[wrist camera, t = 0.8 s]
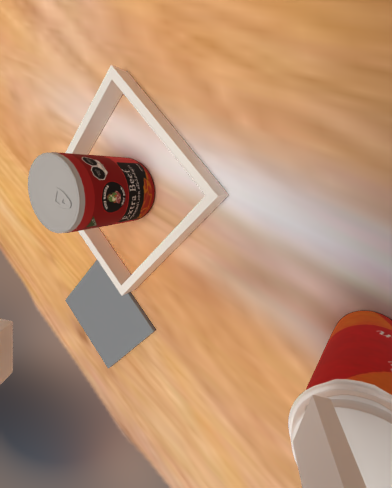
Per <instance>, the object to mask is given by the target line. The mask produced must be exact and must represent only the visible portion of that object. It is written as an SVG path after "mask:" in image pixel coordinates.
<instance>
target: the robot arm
mask: <svg viewBox="0 0 392 488" xmlns="http://www.w3.org/2000/svg"><path fill="white" fill-rule="evenodd" d="M12 372H13V322H12V321H8V320H4V319H0V384H1V383H2V382H3V381H4V380H5V379H6V378H7V377H8V376H9V375H10V374H11V373H12ZM293 446H294V451H295V456H296V460H297V465H298V470H299V474H300V479H301V484H302V488H367V487H366V485H365V482H364V480H363V477H362V475H361V472H360V470H359V468H358V465H357V463H356V460H355V458H354V455H353V453H352V450H351V448H350V445H349V443H348V440H347V438H346V436H345V433H344V431H343V428H342V426H341V423H340V421H339V418H338V416H337V413H336V411H335V408H334V406H333V403H332V401H331V399H329V398H325V397H321V396H317V395H312V397H311V399H310V401H309V404H308V406H307V409H306V411H305V413H304V416H303V418H302V421H301V423H300V426H299V428H298V430H297V433H296V435H295V438H294V440H293Z"/></svg>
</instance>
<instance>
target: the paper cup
mask: <svg viewBox="0 0 392 488" xmlns="http://www.w3.org/2000/svg"><path fill="white" fill-rule="evenodd" d="M312 395H317V396H321V397H325V398H329V399H331V401H332V403H333V406H334V408H335V411H336V413H337V416H338V418H339V421H340V423H341V426H342V428H343V431H344V433H345V436H346V438H347V440H348V443H349V445H350V448H351V450H352V453H353V455H354V458H355V460H356V463H357V465H358V468H359V470H360V472H361V475H362V477H363V480H364V482H365V485H366V487H367V488H392V320H391V319H389V318H388V317H386V316H384V315H382V314H379V313H376V312H372V311H356V312H352V313H350V314H347V315H346V316H344V317H343V318H342V319H341V320H340V321H339V322H338V324H337V325H336V327H335V329H334V330H333V332H332V334H331V337H330V339H329V341H328V343H327V345H326V347H325V349H324V351H323V354H322V356H321V358H320V360H319V362H318V364H317V367H316V369H315V371H314V373H313V375H312V378H311V380H310V382H309V384H308V386H307V388H306V390H305V391H304V392H303V393H302V394H300V395H299V396H298V398H297V399H296V400H295V401H294V403H293V405H292V407H291V410H290V414H289V420H288V428H289V435H290V438H291V445H292V452H293V455H294V458H295V461H296V464H297V460H296V456H295V451H294V446H293V440H294V438H295V435H296V433H297V430H298V428H299V426H300V423H301V421H302V418H303V416H304V413H305V411H306V409H307V406H308V404H309V401H310V399H311V397H312ZM297 466H298V465H297Z"/></svg>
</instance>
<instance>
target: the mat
mask: <svg viewBox="0 0 392 488" xmlns="http://www.w3.org/2000/svg"><path fill="white" fill-rule="evenodd" d="M65 301H66V302H67V304H68V305H69V307H70V308H71V310H72V312H73V313H74V315H75V316H76V318H77V320H78V321H79V323H80V324H81V326H82V328H83V329H84V331H85V332H86V334H87V336H88V337H89V339H90V340H91V342H92V344H93V345H94V347H95V348H96V350H97V351H98V353H99V355H100V356H101V358H102V359H103V361H104V363H105V364H106V366H107V367H108V368H110V367H111V366H112V365H114V364H115V363H116V362H117V361H118V360H120V359H121V358H122V357H123V356H125V355H126V354H127V353H128V352H130V351H131V350H132V349H133V348H134V347H136V346H137V345H138V344H139V343H141V342H142V341H143V340H144V339H145V338H147V337H148V336H149V335H150V334H152V333H153V332H154V331H155V330H156V329H155V327H154V326H153V325H152V323H151V322H150V320H149V319H148V317H147V316H146V314H145V313H144V311H143V310H142V308H141V307H140V305H139V304H138V303H137V301H136V300H135V298H134V297H133V295H132V294H131V292H129V293H127V294H125V295H123V296H121V294H120V293H119V291H118V290H117V288H116V287H115V285H114V284H113V282H112V281H111V279H110V278H109V276H108V275H107V273H106V272H105V270H104V269H103V267H102V266H101V264H100V263H99V261H98V260H97V261H96V262H95V263H94V264H93V266H92V267H91V268H90V269H89V271H88V272H87V273H86V275H85V276H84V277H83V278H82V280H81V281H80V282H79V283H78V285H77V286H76V287H75V289H74V290H73V291H72V292H71V294H70V295H69V296H68V297H67V299H66V300H65Z"/></svg>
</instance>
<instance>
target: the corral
mask: <svg viewBox="0 0 392 488" xmlns="http://www.w3.org/2000/svg"><path fill="white" fill-rule="evenodd" d="M122 94H124V95H125V96H126V97H127V99H128V100H129V101H130V102H131V104H132V105H133V106H134V107H135V109H136V110H137V111H138V112H139V114H140V115H141V116H142V117H143V119H144V120H145V121H146V122H147V124H148V125H149V126H150V127H151V129H152V130H153V131H154V132H155V134H156V135H157V136H158V137H159V139H160V140H161V141H162V142H163V144H164V145H165V146H166V147H167V149H168V150H169V151H170V152H171V153H172V155H173V156H174V157H175V158H176V160H177V161H178V162H179V163H180V165H181V166H182V167H183V168H184V170H185V171H186V172H187V173H188V175H189V176H190V177H191V178H192V180H193V181H194V182H195V183H196V185H197V186H198V187H199V188H200V190H201V191H202V192H203V193H204V195H205V196H204V197H203V199H202V200H201V201H200V202H199V203H198V204H197V205H196V206H195V207H194V208H193V209H192V210H191V211H190V212H189V214H188V215H187V216H186V217H185V218H184V219H183V220H182V221H181V222H180V223H179V224H178V225H177V226H176V227H175V229H174V230H173V231H172V232H171V233H170V234H169V235H168V236H167V237H166V238H165V239H164V240H163V241H162V242H161V244H160V245H159V246H158V247H157V248H156V249H155V250H154V251H153V252H152V253H151V254H150V255H149V256H148V258H147V259H146V260H145V261H144V262H143V263H142V264H141V265H140V266H139V267H138V268H137V269H136V270H135V271H134V273H133V274H132V275H131V274H130V272H129V271H128V270H127V268H126V267H125V265H124V264H123V262H122V261H121V259H120V258H119V257H118V255H117V254H116V252H115V251H114V249H113V248H112V246H111V245H110V244H109V242H108V241H107V239H106V238H105V236H104V235H103V233H102V232H101V231H100V229H99V228H98V227H97V228H91V229H86V230H81V231H78V232H79V233H80V235H81V236H82V238H83V239H84V241H85V242H86V244H87V245H88V247H89V248H90V250H91V251H92V253H93V254H94V255H95V257H96V258H97V260H98V261H99V263H100V264H101V266H102V267H103V269H104V270H105V272H106V273H107V275H108V276H109V278H110V279H111V281H112V282H113V284H114V285H115V287H116V288H117V290H118V291H119V293H120V294H121V296H123V295H125V294H127V293H129V292H131V291H133V290H135V289H136V288H137V287H138V286H139V285H140V284H141V283H142V282H143V281H144V280H145V279H146V278H147V277H148V276H149V275H150V274H151V273H152V272H153V271H154V270H155V269H156V268H157V267H158V266H159V265H160V264H161V263H162V262H163V261H164V260H165V259H166V258H167V257H168V256H169V255H170V254H171V253H172V252H173V251H174V250H175V249H176V248H177V247H178V246H179V245H180V244H181V243H182V242H183V241H184V240H185V239H186V238H187V237H188V236H189V235H190V234H191V233H192V232H193V231H194V230H195V229H196V228H197V227H198V226H199V225H200V224H201V223H202V222H203V221H204V220H205V219H206V218H207V217H208V216H209V215H210V214H211V213H212V212H213V211H214V210H215V209H216V208H217V207H218V206H219V205H220V204H221V203H222V201H223V200H224V199H225V198H226V197H227V196H228V195H229V194H228V193H227V192H226V191H225V189H224V188H223V187H222V186H221V185H220V183H219V182H218V181H217V180H216V179H215V177H214V176H213V175H212V174H211V172H210V171H209V170H208V169H207V168H206V166H205V165H204V164H203V163H202V162H201V160H200V159H199V158H198V157H197V155H196V154H195V153H194V152H193V151H192V149H191V148H190V147H189V146H188V144H187V143H186V142H185V141H184V140H183V138H182V137H181V136H180V135H179V134H178V132H177V131H176V130H175V129H174V127H173V126H172V125H171V124H170V123H169V121H168V120H167V119H166V118H165V117H164V115H163V114H162V113H161V112H160V110H159V109H158V108H157V107H156V106H155V104H154V103H153V102H152V101H151V99H150V98H149V97H148V96H147V95H146V93H145V92H144V91H143V90H142V89H141V87H140V86H139V85H138V84H137V82H136V81H135V80H134V79H133V78H132V76H131V75H130V74H129V73H128V72H127V71H125V70H123V69H120V68H118V67H115V66H113V65H111V66H110V68H109V70H108V72H107V74H106V76H105V78H104V80H103V82H102V83H101V85H100V87H99V89H98V91H97V93H96V95H95V97H94V99H93V101H92V103H91V105H90V107H89V108H88V110H87V112H86V114H85V116H84V118H83V120H82V122H81V124H80V126H79V128H78V130H77V132H76V134H75V135H74V137H73V139H72V141H71V143H70V145H69V147H68V149H67V151H66V153H71V154H84V155H88V154H89V152H90V150H91V149H92V147H93V145H94V143H95V142H96V140H97V138H98V136H99V135H100V133H101V131H102V129H103V128H104V126H105V124H106V122H107V121H108V119H109V117H110V115H111V114H112V112H113V110H114V108H115V107H116V105H117V103H118V101H119V100H120V98H121V96H122Z"/></svg>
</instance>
